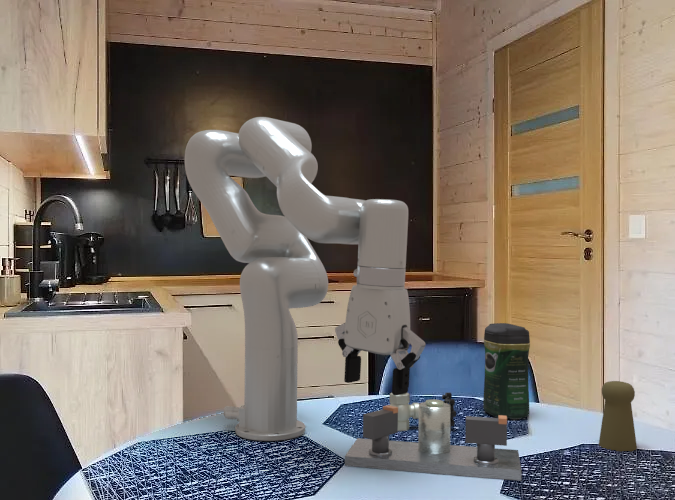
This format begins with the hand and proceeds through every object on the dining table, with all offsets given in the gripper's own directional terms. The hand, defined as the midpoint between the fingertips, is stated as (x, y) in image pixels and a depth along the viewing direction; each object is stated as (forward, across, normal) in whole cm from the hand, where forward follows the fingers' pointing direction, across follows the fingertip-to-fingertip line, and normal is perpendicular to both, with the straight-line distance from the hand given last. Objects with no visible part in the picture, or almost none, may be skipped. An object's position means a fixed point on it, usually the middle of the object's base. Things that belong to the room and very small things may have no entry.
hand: (375, 387), depth 103 cm
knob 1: (+10, +2, 0) cm, 10 cm away
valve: (+12, -6, +21) cm, 25 cm away
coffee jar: (+12, 0, +42) cm, 44 cm away
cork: (+10, +25, +36) cm, 45 cm away
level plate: (+11, +8, +6) cm, 15 cm away
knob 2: (+9, +15, +8) cm, 20 cm away
